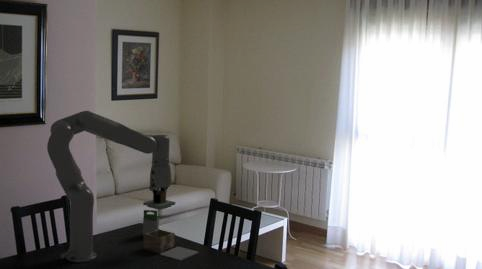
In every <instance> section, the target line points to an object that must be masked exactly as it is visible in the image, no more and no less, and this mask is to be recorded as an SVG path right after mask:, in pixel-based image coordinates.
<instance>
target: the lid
mask: <svg viewBox="0 0 482 269" xmlns="http://www.w3.org/2000/svg"><path fill="white" fill-rule="evenodd" d="M152 194H153V193H152ZM159 195H160V203H154V194H153V197H152V199H151V200H147V201H143V204H142V205H143V206H146V207H147V208H150V209H155V210H159V211H161V210H165V209H167V208H171V207H172V206H175V205H176V201H171V200H167V192H165V191H160V189H159Z"/></svg>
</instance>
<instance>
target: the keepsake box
mask: <svg viewBox="0 0 482 269" xmlns="http://www.w3.org/2000/svg"><path fill="white" fill-rule="evenodd" d="M175 242H176V233H175V232H171V231H167V230H163V229H160V228H159V229H158V230H155V231H152V232H149V233H146V234H144V236H143V250H146V251H150V252H153V253H157V254H159V255H160V254H161V253H163V252H166V251H168V250H171V249H173V248H176V247H175Z"/></svg>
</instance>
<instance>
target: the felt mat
mask: <svg viewBox="0 0 482 269" xmlns="http://www.w3.org/2000/svg"><path fill="white" fill-rule="evenodd" d="M199 253H200V251H197V250H193V249H189V248H185V247H183V246H176V247H175V248H173V249H171V250H168V251H166V252H163V253H161V254H160V253H159V256H163V257H167V258H168V259H169V258H170V259H172V260H176V261H180V262H181V261H184V260H186V259H188V258H191V257H192V256H195V255H197V254H199Z"/></svg>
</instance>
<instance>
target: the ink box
mask: <svg viewBox="0 0 482 269" xmlns="http://www.w3.org/2000/svg"><path fill="white" fill-rule="evenodd" d="M150 213H151V214H150ZM152 213H153V214H152ZM142 221H143V222H142V223H143V225H142V226H143V227H142V236H143V237H144V234H146V233H149V232H152V231H155V230H158V229H159V230H160V228H159V227H160V216H159V215H158V210H156V209H155V210H151V209H144V210H143V219H142Z"/></svg>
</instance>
